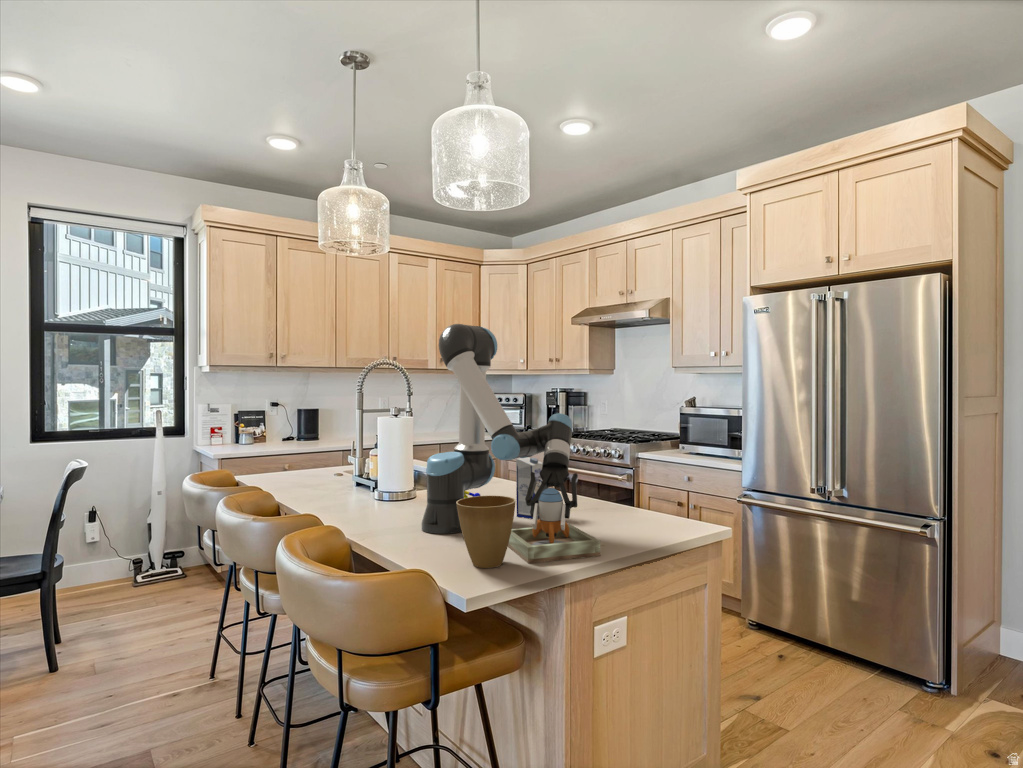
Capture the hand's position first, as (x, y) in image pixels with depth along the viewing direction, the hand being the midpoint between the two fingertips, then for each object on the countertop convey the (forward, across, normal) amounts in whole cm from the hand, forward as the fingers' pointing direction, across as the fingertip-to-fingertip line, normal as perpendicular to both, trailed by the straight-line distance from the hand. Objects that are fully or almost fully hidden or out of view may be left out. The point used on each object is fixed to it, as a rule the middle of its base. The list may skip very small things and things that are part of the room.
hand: (548, 527), depth 161 cm
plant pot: (+14, +14, +4) cm, 20 cm away
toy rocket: (+1, 0, -6) cm, 6 cm away
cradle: (+2, 0, -7) cm, 8 cm away
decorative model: (-34, +42, -44) cm, 70 cm away
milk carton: (-26, +13, -36) cm, 47 cm away
